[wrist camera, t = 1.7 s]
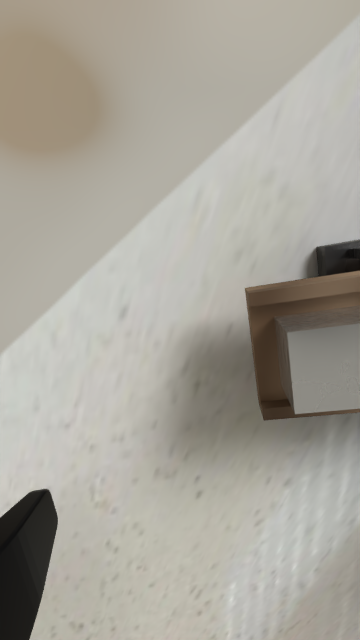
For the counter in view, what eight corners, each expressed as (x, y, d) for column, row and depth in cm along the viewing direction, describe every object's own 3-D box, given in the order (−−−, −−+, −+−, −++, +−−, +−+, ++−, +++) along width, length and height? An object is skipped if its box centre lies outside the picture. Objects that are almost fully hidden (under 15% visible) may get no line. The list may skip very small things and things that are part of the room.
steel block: (374, 303, 15) (412, 316, 12) (376, 375, 16) (412, 403, 13) (274, 317, 16) (287, 332, 13) (281, 385, 17) (294, 414, 14)
